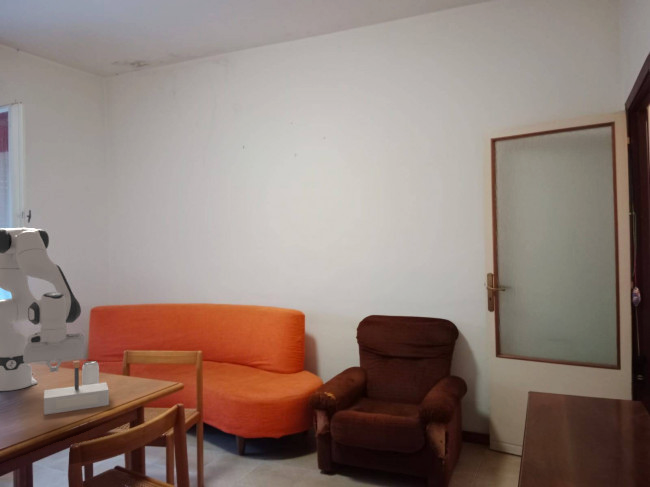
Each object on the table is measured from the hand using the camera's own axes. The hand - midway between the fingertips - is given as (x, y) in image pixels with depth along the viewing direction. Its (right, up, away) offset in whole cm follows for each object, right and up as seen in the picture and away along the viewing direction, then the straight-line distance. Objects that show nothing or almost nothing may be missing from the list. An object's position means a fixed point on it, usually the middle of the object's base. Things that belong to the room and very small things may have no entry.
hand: (54, 371), depth 189 cm
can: (+3, -14, +23) cm, 27 cm away
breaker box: (+7, -14, +4) cm, 16 cm away
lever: (+7, -8, +4) cm, 11 cm away
